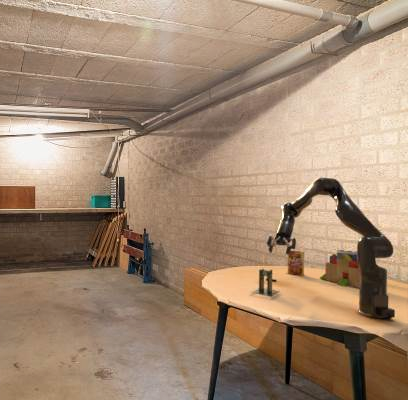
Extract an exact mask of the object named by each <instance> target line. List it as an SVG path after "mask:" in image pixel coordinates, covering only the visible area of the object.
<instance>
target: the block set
mask: <svg viewBox="0 0 408 400" xmlns="http://www.w3.org/2000/svg"><path fill="white" fill-rule="evenodd" d="M324 272H325V273H324V274H322V275H321V276H320V277H319V279H320V280H324V281H328V282H333V283H336V284H338V285H339V286H342V287H347V286H349V287H352V288H357V289H359V280H360V269H359V266H358V260H357V254H353V253H347V252H340V253H337V252H336V254H335V253H333V254H331V255H329V262H325V271H324Z"/></svg>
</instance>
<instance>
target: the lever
mask: <svg viewBox="0 0 408 400" xmlns="http://www.w3.org/2000/svg"><path fill="white" fill-rule="evenodd" d="M267 271H269V269H268V270H267V269H264V270H263V273H262V274H263V276H264V277H266V278H265V281H266V282H267ZM277 282H278V280H277V279H274V278H272V283H277Z"/></svg>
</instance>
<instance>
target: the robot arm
mask: <svg viewBox="0 0 408 400" xmlns="http://www.w3.org/2000/svg"><path fill="white" fill-rule="evenodd" d="M316 196H325V197H331V198H332V199H333V200H334V202H335V206H334V212H335V216H336V217H337V218H338V220H339V221H340V222H341V224H343V225H344V226H345V227H346V228H348V229H350V230H351V231H353V232H355V233H357V234H358V235H361V236H362V237H360V238H359V240H358V241H357V245H356V251H357V255H358V266H359V269H360V280H359V288H358V291H359V292H358V297H359V298H358V313H359V314H360V315H361V316H364V317H369V318H372V319H387V320H391V319H393V318H395V316H396V309H393V308H391V307H389V295H388V293H387V292H388V270H387V269H386V268H385V267H383V266H379V265H378V263H377V259H388V258H391V257H392V256H393V254H394V246H393V244H392V242H391V241H390V239H389V238H388V237H387V236H386V235H385V234H384V233H383V232H381V231H380V230H379V229H378V228H377V227H376V226H375V225H374V224H373V222H371V221H370V219H369V218H368V217H367V216H366V215H365V214H364V213H363V211H362V210H361V209H360V208H359V207H358V205H357V204H356V203H355V202H354V201H353V200H352V198H351V197H350V196H349V195H348V194H347V192H346V190H345V189H344V187H343V185H342V184H341V182H340V181H339V180H338V179H336V178H333V177H318V178H316V179H315V180H314V181H312V183H311V184H310V185H309V186H308V187H307V188H306V189H305V191H303V193H302V194H300V195H299V196H298V197H296V199H294V200H293V201H292V202H289V201H287V202H285V203H283V204H282V205H281V209H280V212H281V213H280V215H281V219H280V223H279V225H278V228H277V231H276V234H275V236H274V237H273V236H272V235H269V237H268V239H267V242H266V245H267V247H268V252H269V254H272V252H273V250H274V247H277V246H282V247H283V246H285V247H286V250H285V255H287V256H288V254H289V253H290V250H295V249H296V247H297V246H296V245H297V239H296V238H295V237H293V238H292V236H293V235H292V234H293V232H294V226H295V223H296V219H297V218H298V217H299V216H300V215H301V214H302V212H303V211H304V210H305V209H306V208H308V207H309V206H311V204H312V203H313V200H314V197H316ZM290 243H291V245H290Z"/></svg>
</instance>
